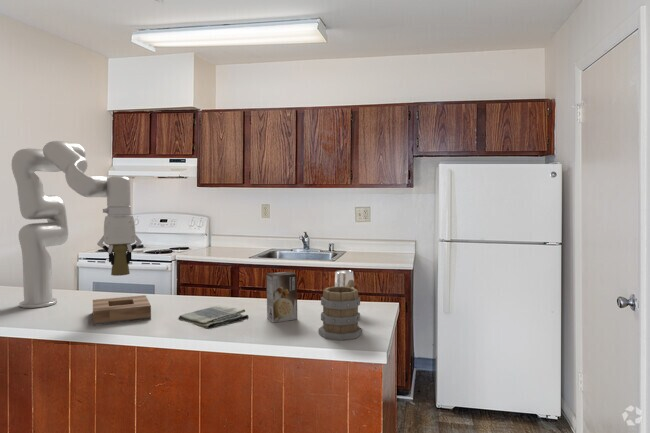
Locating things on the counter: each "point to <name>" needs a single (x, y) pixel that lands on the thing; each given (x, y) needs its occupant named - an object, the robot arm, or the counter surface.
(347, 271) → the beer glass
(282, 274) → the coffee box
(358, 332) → the tankard
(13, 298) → the counter surface
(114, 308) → the docking block
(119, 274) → the cork
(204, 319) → the dish towel
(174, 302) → the counter surface
